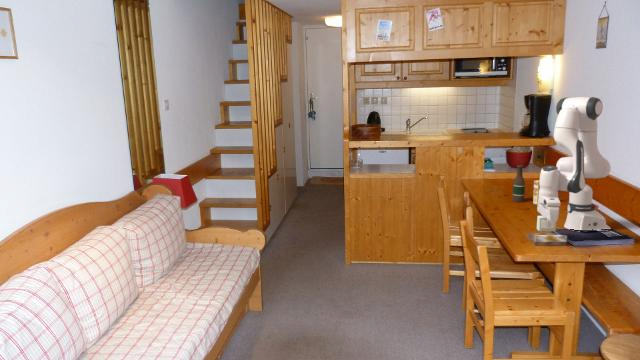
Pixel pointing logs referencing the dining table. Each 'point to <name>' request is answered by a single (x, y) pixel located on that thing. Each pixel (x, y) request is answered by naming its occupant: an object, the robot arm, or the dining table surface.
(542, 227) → the carton
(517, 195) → the beer bottle
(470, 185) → the dining table surface
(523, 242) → the dining table surface
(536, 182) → the candy box
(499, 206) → the dining table surface
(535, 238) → the shelf
